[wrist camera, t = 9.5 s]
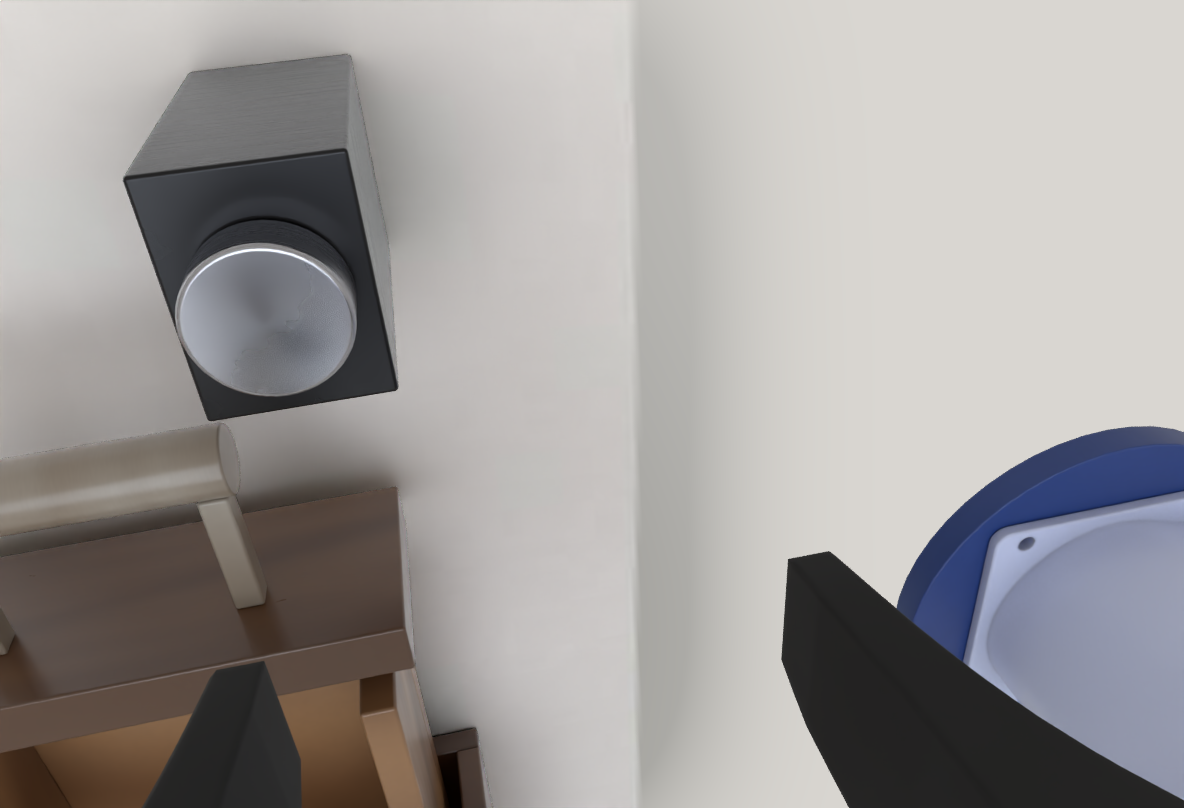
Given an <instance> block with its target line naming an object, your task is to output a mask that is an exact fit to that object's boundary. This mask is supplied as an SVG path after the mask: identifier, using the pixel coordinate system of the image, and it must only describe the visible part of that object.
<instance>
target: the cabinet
mask: <svg viewBox="0 0 1184 808" xmlns="http://www.w3.org/2000/svg"><path fill="white" fill-rule="evenodd" d="M432 738H433V742H434V746H435V750H436V754H437V758H438V762H439V766H440V770H441V774H442V778H443V782H444V786H445V789H446V793H447V797H448V801H449V805H450V808H493V805H492V800H491V795H490V790H489V785H488V781H487V776H486V771H485V766H484V761H483V757H482V752H481V747H480V742H479V737H478V733H477V730H476V729H469V730H465V731H460V732H455V733H451V734H446V735H441V736H437V737H432Z"/></svg>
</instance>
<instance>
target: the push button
mask: <svg viewBox="0 0 1184 808" xmlns="http://www.w3.org/2000/svg"><path fill="white" fill-rule="evenodd" d="M123 182H124V185H125V188H126V191H127V194H128V196H129V199H130V202H131V205H132V208H133V210H134V213H135V216H136V219H137V222H138V225H139V227H140V230H141V233H142V236H143V239H144V242H145V244H146V247H147V250H148V253H149V256H150V258H151V261H152V264H153V267H154V270H155V273H156V275H157V278H158V281H159V284H160V287H161V290H162V292H163V295H164V298H165V301H166V304H167V306H168V309H169V312H170V315H171V318H172V321H173V323H174V326H175V329H176V332H177V335H178V338H179V340H180V343H181V346H182V349H183V352H184V354H185V357H186V360H187V363H188V366H189V369H190V371H191V374H192V377H193V380H194V383H195V386H196V388H197V391H198V394H199V397H200V400H201V402H202V405H203V408H204V411H205V414H206V417H207V419H208V420H209V421H216V420H222V419H228V418H234V417H240V416H246V415H252V414H258V413H264V412H270V411H276V410H282V409H288V408H294V407H300V406H307V405H313V404H319V403H325V402H331V401H337V400H343V399H349V398H355V397H361V396H367V395H373V394H379V393H385V392H391V391H396V390H397V389H398V372H397V357H396V342H395V328H394V313H393V299H392V284H391V270H390V255H389V244H388V239H387V234H386V229H385V224H384V219H383V214H382V209H381V204H380V199H379V194H378V189H377V184H376V179H375V174H374V169H373V164H372V159H371V154H370V149H369V144H368V139H367V134H366V129H365V124H364V119H363V114H362V109H361V104H360V99H359V94H358V89H357V84H356V79H355V74H354V69H353V64H352V59H351V56H350V55H348V54H345V55H336V56H328V57H319V58H311V59H302V60H293V61H285V62H276V63H267V64H259V65H250V66H241V67H233V68H224V69H215V70H207V71H198V72H191V73H189V74H188V75H187V77H186V79H185V80H184V82H183V83H182V85H181V86H180V88H179V90H178V91H177V93H176V94H175V96H174V98H173V99H172V101H171V102H170V104H169V106H168V107H167V109H166V110H165V112H164V113H163V115H162V117H161V118H160V120H159V121H158V123H157V125H156V126H155V128H154V129H153V131H152V133H151V134H150V136H149V137H148V139H147V140H146V142H145V144H144V145H143V147H142V148H141V150H140V152H139V153H138V155H137V156H136V158H135V160H134V161H133V163H132V164H131V166H130V167H129V169H128V171H127V172H126V174H125V175H124V177H123Z"/></svg>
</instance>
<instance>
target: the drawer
mask: <svg viewBox="0 0 1184 808" xmlns="http://www.w3.org/2000/svg"><path fill="white" fill-rule="evenodd" d="M239 486H240V465H239V458H238V452H237V448H236V444H235V441H234V438H233V435H232V433H231V431H230V429H229V428H228V426H227V425H226V424H225V423H214V424H208V425H202V426H196V427H190V428H184V429H178V430H172V431H166V432H160V433H154V434H148V435H142V436H136V437H130V438H123V439H117V440H111V441H105V442H99V443H93V444H87V445H81V446H75V447H69V448H63V449H57V450H51V451H45V452H39V453H33V454H27V455H21V456H14V457H8V458H2V459H0V537H3V536H8V535H14V534H20V533H25V532H31V531H37V530H43V529H48V528H54V527H60V526H65V525H71V524H77V523H82V522H88V521H94V520H99V519H105V518H111V517H117V516H122V515H128V514H134V513H139V512H145V511H151V510H156V509H162V508H168V507H173V506H179V505H185V504H190V503H196V502H197V507H198V510H199V513H200V515H201V518H202V520H203V521H199V522H194V523H188V524H183V525H177V526H171V527H166V528H160V529H155V530H149V531H143V532H138V533H132V534H127V535H121V536H115V537H110V538H104V539H99V540H93V541H87V542H82V543H76V544H71V545H65V546H59V547H54V548H48V549H43V550H37V551H31V552H26V553H20V554H15V555H9V556H3V557H0V808H142V806H143V805H144V803H145V801H146V799H147V798H148V796H149V794H150V792H151V791H152V789H153V787H154V785H155V783H156V782H157V780H158V778H159V776H160V775H161V773H162V771H163V769H164V767H165V765H166V763H167V762H168V760H169V758H170V756H171V754H172V752H173V750H174V748H175V747H176V745H177V743H178V741H179V739H180V737H181V735H182V733H183V731H184V729H185V727H186V725H187V723H188V721H189V719H190V717H191V715H192V713H193V711H194V709H195V707H196V705H197V703H198V701H199V699H200V697H201V695H202V693H203V691H204V689H205V687H206V685H207V683H208V681H209V679H210V677H211V676H212V675H213V674H214V672H215V671H216V670H219V669H225V668H230V667H235V666H240V665H245V664H250V663H256V662H261V661H264V662H265V664H266V667H267V670H268V672H269V675H270V678H271V680H272V683H273V686H274V688H275V691H276V694H277V697H278V699H279V702H280V705H281V707H282V710H283V713H284V715H285V718H286V721H287V723H288V726H289V729H290V732H291V734H292V737H293V740H294V742H295V745H296V748H297V750H298V753H299V756H300V758H301V792H302V808H450V805H449V801H448V797H447V793H446V789H445V786H444V782H443V778H442V774H441V770H440V766H439V762H438V758H437V754H436V750H435V746H434V742H433V738H432V734H431V730H430V726H429V722H428V718H427V714H426V710H425V706H424V702H423V698H422V694H421V690H420V686H419V682H418V678H417V674H416V670H415V652H414V637H413V621H412V606H411V591H410V576H409V560H408V545H407V530H406V521H405V516H404V512H403V508H402V503H401V499H400V495H399V490H398V488H397V487H390V488H384V489H379V490H373V491H367V492H362V493H356V494H351V495H345V496H339V497H334V498H328V499H323V500H317V501H311V502H306V503H300V504H295V505H289V506H283V507H278V508H272V509H267V510H261V511H255V512H250V513H244V514H242V512H241V510H240V507H239V504H238V501H237V498H236V494H237V493H238V491H239Z"/></svg>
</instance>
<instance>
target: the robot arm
mask: <svg viewBox="0 0 1184 808" xmlns="http://www.w3.org/2000/svg"><path fill="white" fill-rule="evenodd" d="M782 662H783V665H784V668H785V671H786V673H787V676H788V679H789V682H790V684H791V687H792V689H793V692H794V695H795V698H796V700H797V703H798V705H799V708H800V710H801V713H802V716H803V718H804V721H805V723H806V726H807V728H808V730H809V732H810V734H811V736H812V738H813V740H814V742H815V744H816V746H817V747H818V749H819V751H820V753H821V755H822V757H823V759H824V761H825V763H826V765H827V767H828V769H829V771H830V773H831V775H832V776H833V778H834V780H835V782H836V784H837V786H838V788H839V790H840V791H841V794H842V795H843V797H844V799H845V801H846V803H847V805H848V807H849V808H1184V491H1181V492H1176V493H1171V494H1166V495H1161V496H1156V497H1151V498H1146V499H1141V500H1137V501H1132V502H1127V503H1122V504H1117V505H1112V506H1107V507H1102V508H1097V509H1092V510H1087V511H1082V512H1077V513H1072V514H1067V515H1062V516H1057V517H1052V518H1047V519H1043V520H1038V521H1033V522H1028V523H1023V524H1018V525H1013V526H1008V527H1004V528H1002V529H1000V530H998V531H997V532H995V533H994V535H993V536H992V537H991V539H990V542H989V545H988V550H987V554H986V559H985V563H984V568H983V572H982V577H981V581H980V586H979V590H978V595H977V599H976V604H975V609H974V613H973V618H972V622H971V627H970V631H969V636H968V640H967V645H966V649H965V654H964V659H963V662H962V661H961V660H960V659H958V658H957V657H956V656H955V655H953V654H952V653H951V652H949V651H948V650H947V649H946V648H944V647H943V646H942V645H941V644H939V643H938V642H937V641H936V640H934V639H933V638H932V637H931V636H929V635H928V634H927V633H925V632H924V631H923V630H922V629H921V628H919V627H918V626H917V625H916V624H914V623H913V622H912V621H911V620H910V619H908V618H907V617H906V616H905V615H904V614H902V613H901V612H900V611H899V610H898V609H896V608H895V607H894V606H893V605H892V604H891V603H889V602H888V601H887V600H886V599H885V598H883V597H882V596H881V595H880V594H879V593H878V592H876V591H875V590H874V589H873V588H872V587H871V586H870V585H868V584H867V583H866V582H865V581H864V580H863V579H861V578H860V577H859V576H858V575H857V574H855V572H853V571H852V570H851V569H850V568H849V567H848V566H846V565H845V564H844V563H843V562H842V561H841V560H839V559H838V558H837V557H836V556H835V555H833V554H832V553H831V552H829V551H828V552H823V553H818V554H812V555H807V556H802V557H797V558H792V559H788V569H787V584H786V600H785V614H784V629H783V644H782ZM1018 702H1019V703H1018ZM142 808H302V792H301V758H300V756H299V753H298V750H297V748H296V745H295V742H294V740H293V737H292V734H291V732H290V729H289V726H288V723H287V721H286V718H285V715H284V713H283V710H282V707H281V705H280V702H279V699H278V697H277V694H276V691H275V688H274V686H273V683H272V680H271V678H270V675H269V672H268V670H267V667H266V664H265V662H264V661H261V662H256V663H250V664H245V665H240V666H235V667H230V668H225V669H219V670H216V671H215V672H214V674H213V675H212V676H211V677H210V679H209V681H208V683H207V685H206V687H205V689H204V691H203V693H202V695H201V697H200V699H199V701H198V703H197V705H196V707H195V709H194V711H193V713H192V715H191V717H190V719H189V721H188V723H187V725H186V727H185V729H184V731H183V733H182V735H181V737H180V739H179V741H178V743H177V745H176V747H175V748H174V750H173V752H172V754H171V756H170V758H169V760H168V762H167V763H166V765H165V767H164V769H163V771H162V773H161V775H160V776H159V778H158V780H157V782H156V783H155V785H154V787H153V789H152V791H151V792H150V794H149V796H148V798H147V799H146V801H145V803H144V805H143V806H142Z"/></svg>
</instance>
